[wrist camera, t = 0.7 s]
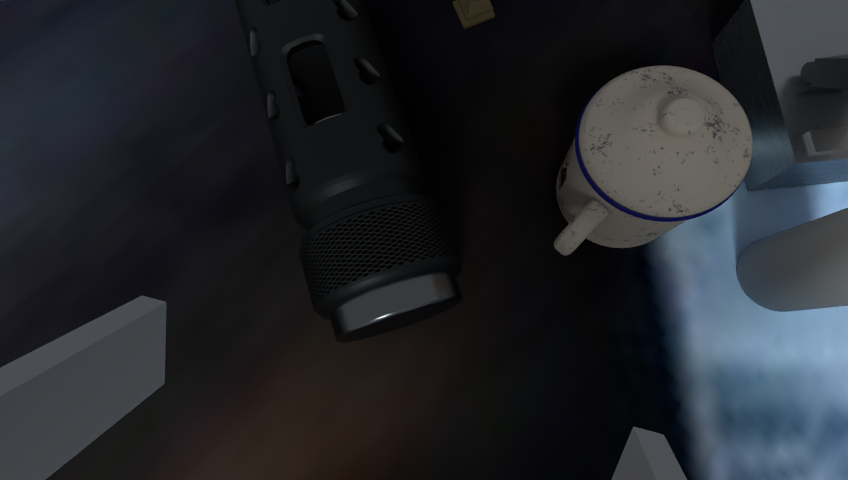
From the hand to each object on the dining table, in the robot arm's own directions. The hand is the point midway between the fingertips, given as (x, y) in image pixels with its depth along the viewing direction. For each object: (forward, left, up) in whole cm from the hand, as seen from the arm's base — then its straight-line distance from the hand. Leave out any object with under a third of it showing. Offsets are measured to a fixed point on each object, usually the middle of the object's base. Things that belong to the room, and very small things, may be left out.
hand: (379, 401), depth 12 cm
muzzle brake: (+16, +5, -20) cm, 27 cm away
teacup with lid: (+10, -13, -20) cm, 26 cm away
